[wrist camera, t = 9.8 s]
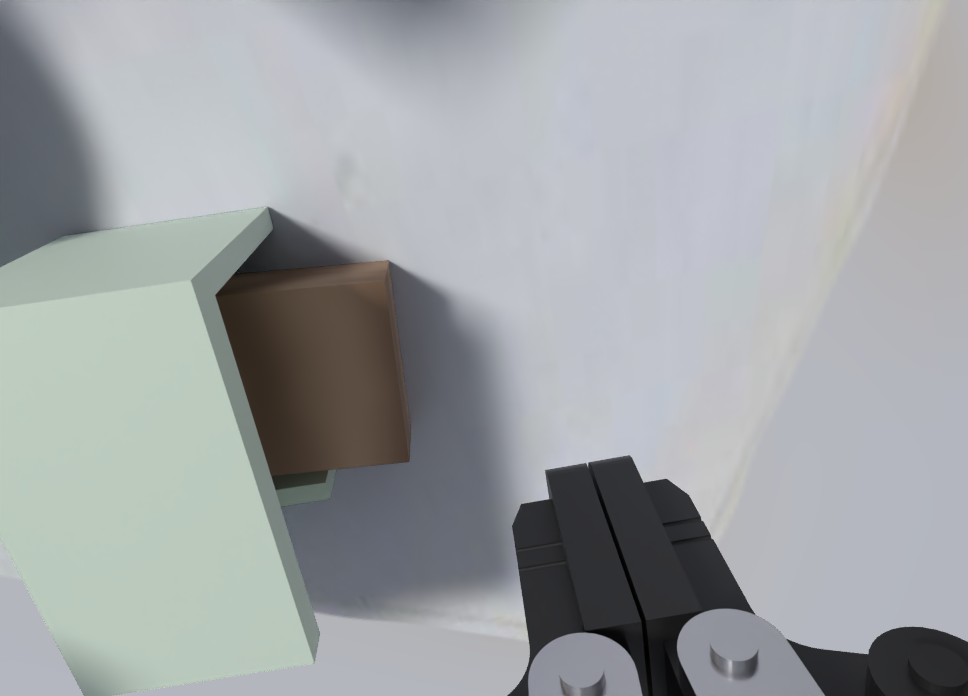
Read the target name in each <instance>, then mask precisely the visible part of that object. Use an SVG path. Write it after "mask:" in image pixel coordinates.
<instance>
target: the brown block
mask: <svg viewBox="0 0 968 696" xmlns="http://www.w3.org/2000/svg"><path fill="white" fill-rule="evenodd" d="M215 296H216V300H217V303H218V306H219V309H220V313H221V316H222V319H223V322H224V325H225V329H226V332H227V335H228V338H229V342H230V345H231V348H232V351H233V355H234V358H235V361H236V364H237V367H238V371H239V374H240V377H241V380H242V384H243V387H244V390H245V393H246V396H247V400H248V403H249V406H250V409H251V413H252V416H253V419H254V422H255V425H256V429H257V432H258V435H259V438H260V442H261V445H262V448H263V451H264V455H265V458H266V461H267V464H268V467H269V471H270V474H271V476H276V475H285V474H295V473H305V472H315V471H324V470H334V469H344V468H354V467H363V466H373V465H383V464H393V463H402V462H409V460H410V437H411V425H410V418H409V410H408V403H407V395H406V388H405V380H404V373H403V365H402V357H401V350H400V342H399V335H398V327H397V320H396V312H395V305H394V297H393V290H392V282H391V275H390V267H389V260H387V261H376V262H365V263H354V264H343V265H332V266H321V267H310V268H299V269H287V270H276V271H265V272H254V273H243V274H233V275H232V276H231V278H230V279H229V280H228V281H227V282H226V283H225V284H224V286H223V287H222V288H221V289H220V290H219V291H218V292H217V294H216V295H215Z"/></svg>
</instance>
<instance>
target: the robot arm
mask: <svg viewBox="0 0 968 696" xmlns="http://www.w3.org/2000/svg"><path fill="white" fill-rule="evenodd" d="M545 473H546V480H547V487H548V493H549V499H548V500H543V501H537V502H531V503H525V504H521V506H520V509H519V511H518V513H517V516H516V518H515V521H514V523H513V525H512V528H513V534H514V541H515V548H516V555H517V562H518V569H519V576H520V582H521V589H522V596H523V603H524V610H525V617H526V624H527V631H528V637H529V644H530V658H529V664H528V667H527V670H526V672H525V674H524V676H523V678H522V680H521V681H520V683H519V684H518V685H517V687H516V688H515V689H514V690H513V691H512V692H511V693H510V694H509V695H508V696H968V642H966V641H964V640H962V639H960V638H958V637H955V636H953V635H950V634H948V633H945V632H941V631H938V630H934V629H928V628H923V627H902V628H896V629H892V630H890V631H887V632H885V633H883V634H881V635H880V636H879V637H877V638H876V639H875V641H874V642H873V643H872V645H871V647H870V649H869V654H859V653H850V652H841V651H832V650H823V649H817V648H811V647H808V646H804V645H800V644H798V643H795V642H792V641H790V640H788V639H786V638H785V637H784V636H783V635H782V633H781V632H780V631H779V630H778V629H776V627H775V626H773V625H772V624H771V623H769V622H768V621H766V620H765V619H762V618H761V617H759V616H757V615H755V613H754V612H753V610H752V609H751V607H750V605H749V604H748V602H747V600H746V598H745V596H744V595H743V593H742V591H741V589H740V587H739V586H738V584H737V582H736V580H735V578H734V576H733V575H732V573H731V571H730V569H729V567H728V565H727V564H726V562H725V560H724V558H723V556H722V555H721V553H720V551H719V549H718V547H717V546H716V544H715V542H714V540H713V539H711V535H710V533H709V531H708V529H707V527H706V526H705V524H704V522H703V521H701V516H700V515H699V513H698V511H697V509H696V507H695V506H694V504H693V502H692V500H691V498H690V497H689V495H688V494H686V493H685V492H684V491H682V490H681V489H680V488H678V487H677V486H676V485H674V484H673V483H672V482H670V481H669V480H668V479H662V480H657V481H651V482H645V483H643V481H642V479H641V477H640V474H639V472H638V470H637V468H636V466H635V464H634V461H633V459H632V458H631V456H630V455H629V456H623V457H617V458H612V459H606V460H600V461H594V462H589V463H588V467H587V464H586V463H584V464H578V465H572V466H567V467H561V468H555V469H550V470H545Z"/></svg>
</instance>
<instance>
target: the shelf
mask: <svg viewBox="0 0 968 696" xmlns="http://www.w3.org/2000/svg"><path fill="white" fill-rule="evenodd" d="M272 230H273V225H272V221H271V217H270V214H269V210H268V207H262V208H255V209H248V210H241V211H234V212H227V213H220V214H213V215H206V216H199V217H193V218H186V219H179V220H172V221H165V222H158V223H151V224H144V225H137V226H130V227H123V228H116V229H109V230H102V231H95V232H88V233H81V234H74V235H67V236H62V237H60V238H58V239H56V240H54V241H52V242H50V243H48V244H46V245H44V246H42V247H40V248H38V249H36V250H34V251H32V252H30V253H28V254H26V255H24V256H22V257H20V258H18V259H16V260H14V261H12V262H10V263H8V264H6V265H4V266H2V267H0V540H1V541H2V543H3V545H4V547H5V549H6V551H7V553H8V554H9V556H10V558H11V560H12V562H13V564H14V566H15V568H16V569H17V571H18V573H19V575H20V577H21V579H22V581H23V583H24V584H25V586H26V588H27V590H28V592H29V594H30V595H31V597H32V599H33V601H34V603H35V605H36V607H37V609H38V610H39V612H40V614H41V616H42V618H43V620H44V622H45V624H46V625H47V627H48V629H49V631H50V633H51V635H52V637H53V639H54V640H55V642H56V644H57V646H58V648H59V650H60V652H61V654H62V655H63V657H64V659H65V661H66V663H67V665H68V667H69V668H70V670H71V672H72V674H73V676H74V678H75V680H76V681H77V683H78V685H79V687H80V689H81V691H82V693H83V695H84V696H112V695H118V694H124V693H131V692H137V691H143V690H150V689H156V688H163V687H169V686H175V685H182V684H187V683H195V682H201V681H207V680H213V679H220V678H226V677H233V676H239V675H245V674H251V673H258V672H265V671H270V670H277V669H284V668H290V667H296V666H303V665H309V664H314V663H315V658H316V652H317V647H318V642H319V636H320V632H319V629H318V626H317V622H316V619H315V616H314V613H313V609H312V606H311V603H310V600H309V596H308V593H307V590H306V587H305V584H304V580H303V577H302V574H301V571H300V567H299V564H298V561H297V558H296V555H295V551H294V548H293V545H292V542H291V538H290V535H289V532H288V529H287V526H286V522H285V519H284V516H283V513H282V509H281V507H283V506H289V505H296V504H303V503H309V502H316V501H322V500H329V499H330V498H331V493H332V488H333V484H334V479H335V475H336V469H334V470H324V471H315V472H305V473H295V474H285V475H276V476H271V474H270V471H269V467H268V464H267V461H266V458H265V455H264V451H263V448H262V445H261V442H260V438H259V435H258V432H257V429H256V425H255V422H254V419H253V416H252V413H251V409H250V406H249V403H248V400H247V396H246V393H245V390H244V387H243V384H242V380H241V377H240V374H239V371H238V367H237V364H236V361H235V358H234V355H233V351H232V348H231V345H230V342H229V338H228V335H227V332H226V329H225V325H224V322H223V319H222V316H221V313H220V309H219V306H218V303H217V300H216V296H215V295H216V294H217V292H218V291H219V290H220V289H221V288H222V287H223V286H224V284H225V283H226V282H227V281H228V280H229V279H230V278H231V276H232V275H233V274H234V273H235V272H236V271H237V270H238V269H239V267H240V266H241V265H242V264H243V263H244V262H245V261H246V259H247V258H248V257H249V256H250V255H251V254H252V253H253V252H254V250H255V249H256V248H257V247H258V246H259V245H260V244H261V242H262V241H263V240H264V239H265V238H266V237H267V236H268V235H269V233H270V232H271V231H272Z"/></svg>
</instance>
